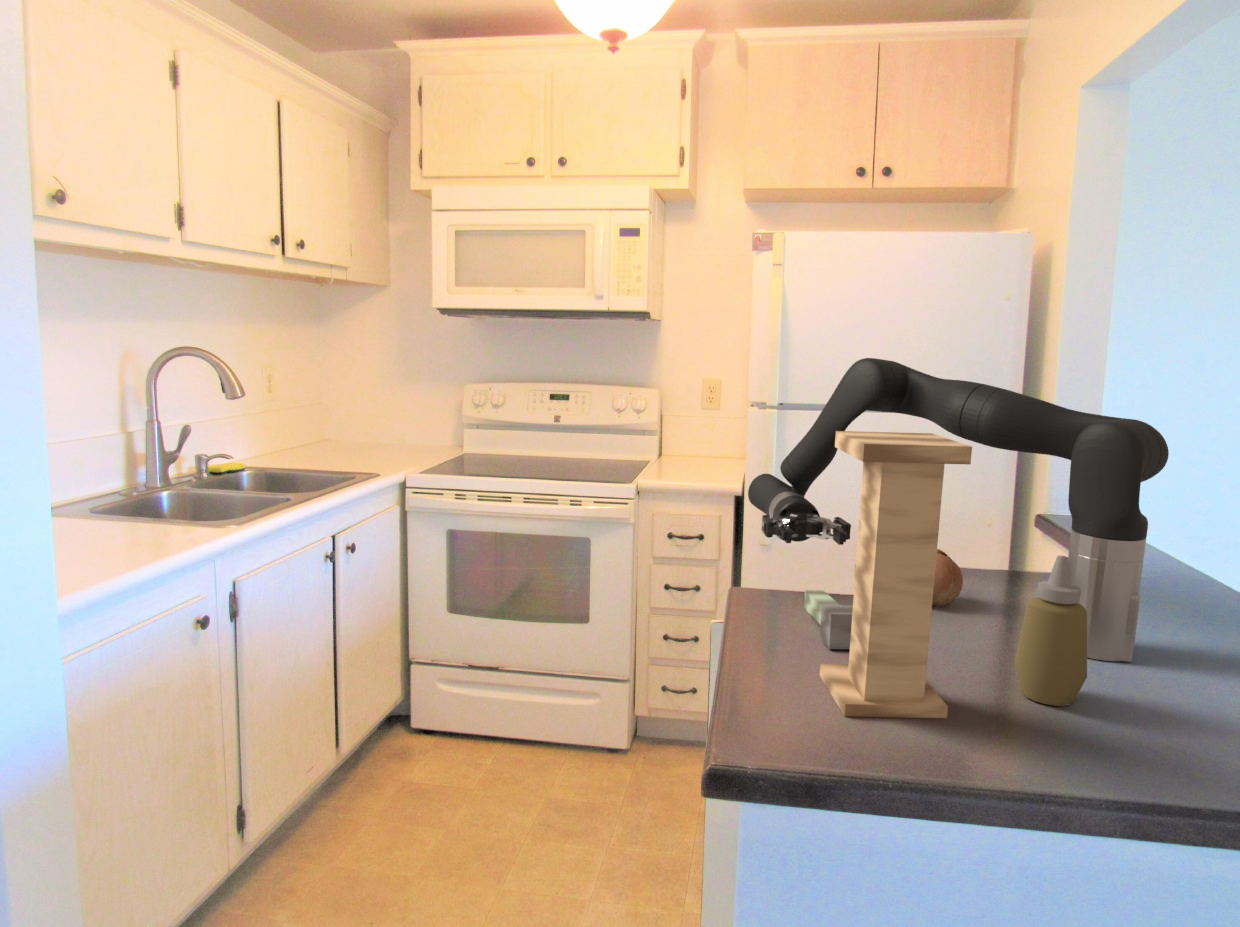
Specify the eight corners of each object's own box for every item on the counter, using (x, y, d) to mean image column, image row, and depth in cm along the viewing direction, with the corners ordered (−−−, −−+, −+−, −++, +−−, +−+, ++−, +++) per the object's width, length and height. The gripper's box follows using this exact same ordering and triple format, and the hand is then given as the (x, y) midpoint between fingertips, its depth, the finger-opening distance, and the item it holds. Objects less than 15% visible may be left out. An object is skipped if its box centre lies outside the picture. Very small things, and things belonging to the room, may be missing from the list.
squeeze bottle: (1081, 717, 99) (1098, 569, 97) (1006, 700, 104) (1021, 558, 101) (1086, 693, 106) (1102, 555, 103) (1016, 678, 110) (1030, 545, 108)
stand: (819, 674, 110) (835, 430, 105) (910, 676, 110) (931, 433, 105) (844, 716, 98) (864, 443, 93) (946, 718, 98) (972, 446, 93)
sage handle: (797, 614, 137) (799, 583, 136) (828, 614, 137) (829, 584, 136) (829, 648, 118) (830, 614, 118) (864, 649, 118) (866, 614, 118)
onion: (929, 613, 145) (941, 558, 147) (969, 616, 136) (981, 557, 138) (885, 597, 142) (897, 540, 144) (923, 599, 133) (935, 538, 136)
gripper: (755, 493, 151) (773, 514, 135) (833, 496, 152) (861, 516, 136) (752, 534, 153) (770, 559, 137) (830, 536, 153) (857, 561, 137)
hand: (815, 538), depth 136 cm, fingers open, 8 cm apart
